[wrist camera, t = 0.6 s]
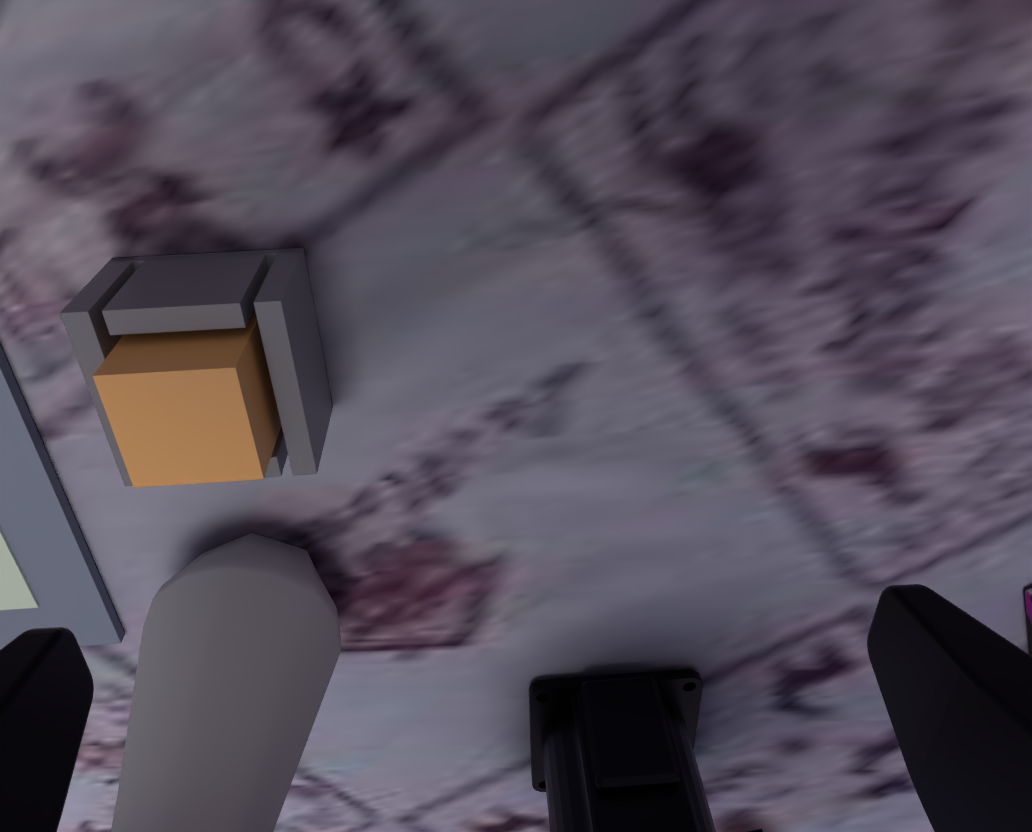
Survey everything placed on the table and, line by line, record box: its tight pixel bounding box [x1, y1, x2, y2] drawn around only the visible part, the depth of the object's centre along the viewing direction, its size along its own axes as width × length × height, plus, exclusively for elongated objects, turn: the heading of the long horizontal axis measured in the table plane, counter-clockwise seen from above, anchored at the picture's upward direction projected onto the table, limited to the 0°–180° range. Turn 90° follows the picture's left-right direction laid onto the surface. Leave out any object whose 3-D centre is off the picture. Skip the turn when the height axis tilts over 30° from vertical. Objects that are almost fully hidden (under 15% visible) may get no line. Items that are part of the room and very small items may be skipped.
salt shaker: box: [111, 533, 341, 832], centre depth 21 cm, size 6×6×13 cm
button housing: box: [60, 248, 333, 486], centre depth 20 cm, size 5×5×3 cm
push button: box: [93, 313, 281, 487], centre depth 19 cm, size 3×3×3 cm
